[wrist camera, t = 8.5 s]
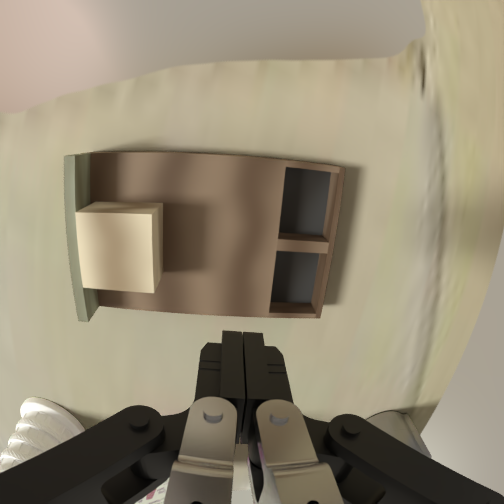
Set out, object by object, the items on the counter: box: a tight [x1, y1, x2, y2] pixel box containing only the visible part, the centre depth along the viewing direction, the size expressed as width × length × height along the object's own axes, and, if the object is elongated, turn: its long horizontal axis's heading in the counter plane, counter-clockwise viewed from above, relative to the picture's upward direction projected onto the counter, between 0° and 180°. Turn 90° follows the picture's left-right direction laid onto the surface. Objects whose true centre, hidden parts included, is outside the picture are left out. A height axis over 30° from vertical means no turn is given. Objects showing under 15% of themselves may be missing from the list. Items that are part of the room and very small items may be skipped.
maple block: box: [75, 202, 163, 293], centre depth 24 cm, size 6×6×4 cm
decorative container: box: [0, 397, 85, 473], centre depth 28 cm, size 12×12×18 cm
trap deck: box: [64, 151, 345, 322], centre depth 26 cm, size 22×14×6 cm, turn 85°
